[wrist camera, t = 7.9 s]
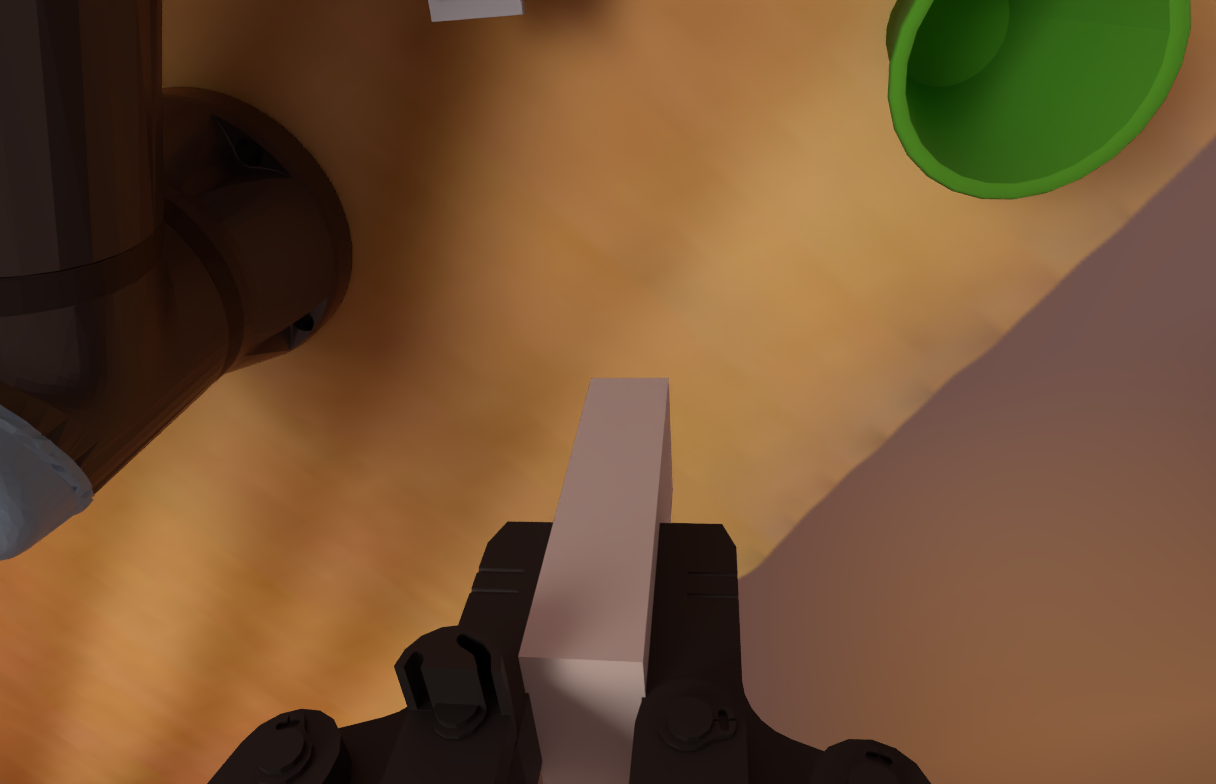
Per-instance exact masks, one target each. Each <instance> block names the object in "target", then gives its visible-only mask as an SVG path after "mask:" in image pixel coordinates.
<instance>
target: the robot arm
mask: <svg viewBox="0 0 1216 784" xmlns="http://www.w3.org/2000/svg"><path fill="white" fill-rule="evenodd" d="M351 267H352V246H351V238H350V232H349V228H348V223H347V220H346V217H345V213H344V211H343V208H342V205H341V203H340V201H339V198H338V196H337V194H336V192H335V190H334V188H333V186H332V184H331V183H330V181H329V179H328V178H327V176H326V175H325V173H324V172H323V170H322V169H321V167H320V166H319V164H318V163H317V162H316V161H315V159H314V158H313V157H312V155H311V154H310V153H309V152H308V151H307V150H306V149H305V148H304V146H303V145H302V144H301V143H300V142H299V141H298V140H297V139H296V138H295V137H293V136H292V135H291V134H290V133H289V132H288V131H287V130H286V129H284V128H283V127H282V126H281V125H279V124H278V123H277V122H275V121H274V120H273V119H271V118H270V117H268V116H267V115H265V114H264V113H262V112H260V111H259V110H257V109H255V108H253V107H252V106H250V105H248V104H246V103H244V102H241V101H239V100H237V99H235V98H232V97H229V96H227V95H224V94H220V93H217V92H213V91H209V90H204V89H198V88H188V87H172V88H163V89H162V0H0V560H6V559H10V558H13V557H15V556H17V555H19V554H21V553H23V552H24V551H26V550H28V549H29V548H31V547H32V546H33V545H34V544H36V543H37V542H38V541H40V540H41V539H43V538H44V537H45V536H47V535H48V534H49V533H51V532H52V531H53V530H55V529H56V528H57V527H59V526H60V525H61V524H63V523H64V522H65V521H67V520H68V519H69V518H71V517H72V516H73V515H76V514H78V513H80V512H82V511H84V510H85V509H86V508H87V507H88V506H89V505H90V503H91V502H92V501H93V499H92V497H93V496H94V494H95V493H96V492H98V491H99V490H100V489H101V488H102V487H103V486H104V485H105V484H106V483H107V482H108V481H109V480H110V479H111V478H113V477H114V476H115V475H116V474H117V473H118V472H119V471H120V470H121V469H122V468H123V467H124V466H125V465H127V464H128V463H129V462H130V461H131V460H132V459H133V458H134V457H135V456H136V455H137V454H138V453H139V452H141V451H142V450H143V449H144V448H145V447H146V446H147V445H148V444H149V443H150V442H151V441H152V440H153V439H154V438H156V437H157V436H158V435H159V434H160V433H161V432H162V431H163V430H164V429H165V428H166V427H167V426H168V425H170V424H171V423H172V422H173V421H174V420H175V419H176V418H177V417H178V416H179V415H180V414H181V413H182V412H184V411H185V410H186V409H187V408H188V407H189V406H190V405H191V404H192V403H193V402H194V401H195V400H196V399H197V398H199V397H200V396H201V395H202V394H203V393H204V392H205V391H206V390H207V389H208V388H209V387H210V386H211V385H212V384H213V383H214V382H215V381H217V380H218V379H219V378H220V377H221V376H222V375H223V374H226V373H229V372H232V371H235V370H238V369H241V368H244V367H247V366H250V365H253V364H256V363H259V362H262V361H265V360H268V359H271V358H275V357H278V356H280V355H283V354H285V353H287V352H289V351H292V350H293V349H295V348H297V347H298V346H300V345H301V344H303V343H304V342H306V341H307V340H308V339H310V338H311V337H312V336H313V335H314V334H315V333H316V332H317V331H318V330H319V329H320V328H321V327H322V326H323V325H324V324H325V323H326V322H327V321H328V320H329V319H330V317H331V316H332V315H333V314H334V313H335V311H336V310H337V309H338V307H339V305H340V303H341V302H342V300H343V298H344V295H345V293H346V290H347V287H348V284H349V280H350V275H351ZM672 492H673V487H672V459H671V432H670V405H669V378H591V381H590V385H589V388H588V392H587V396H586V400H585V404H584V407H583V411H582V415H581V419H580V423H579V426H578V430H577V434H576V438H575V442H574V446H573V449H572V453H571V457H570V461H569V465H568V468H567V472H566V476H565V480H564V484H563V487H562V491H561V495H560V499H559V503H558V507H557V510H556V514H555V518H554V522H553V523H552V522H507V523H506V524H505V525H504V526H503V527H502V528H501V529H500V530H499V531H498V532H497V534H496V535H495V536H494V537H493V538H492V539H491V540H490V541H489V542H488V544H487V546H486V549H485V552H484V555H483V558H482V560H481V563H480V566H479V573H477V574H476V577H475V580H474V583H473V585H472V592H471V593H470V594H469V596H468V599H467V602H466V605H465V608H464V610H463V613H462V616H461V619H460V621H459V624H458V626H449V627H442V628H439V629H437V630H434V631H432V632H430V633H427V634H425V635H423V636H421V637H420V638H419V639H417V640H416V641H415V642H414V643H412V644H411V645H410V646H409V647H407V648H406V649H405V650H404V652H403V653H402V655H401V656H400V658H399V659H398V661H397V662H396V664H395V665H394V668H395V671H396V674H397V677H398V680H399V683H400V686H401V689H402V692H403V695H404V698H405V701H406V704H407V707H406V708H405V709H403V710H401V711H399V712H397V713H394V714H391V715H388V716H385V717H382V718H378V719H374V720H370V721H366V722H362V723H358V724H354V725H350V726H346V727H342V728H338V727H337V725H336V723H335V721H334V719H332V718H331V717H329V716H328V715H326V714H325V713H323V712H321V711H318V710H308V709H299V710H295V711H291V712H286V713H282V714H279V715H278V716H276V717H274V718H272V719H270V720H269V721H267V722H265V723H263V724H261V725H260V726H259V727H257V728H256V729H255V730H254V731H253V732H252V733H251V734H250V735H249V736H248V737H247V738H246V739H245V740H244V741H242V743H241V744H240V745H239V746H238V747H237V749H236V750H235V751H234V752H233V753H232V755H231V756H230V757H229V758H228V759H227V761H226V762H225V763H224V764H223V765H222V767H221V768H220V769H219V770H218V771H217V773H216V774H215V775H214V776H213V777H212V779H211V780H210V781H209V782H208V783H207V784H538V780H539V776H540V771H541V772H542V777H543V782H544V784H931V783H930V782H929V780H928V779H927V778H926V776H925V775H924V774H923V772H922V771H921V769H920V768H919V767H918V766H917V764H916V763H915V762H913V761H912V760H911V759H909V758H908V757H906V756H905V755H904V754H902V753H901V752H900V751H898V750H897V749H896V748H893V747H890V746H888V745H885V744H882V743H879V742H876V741H874V740H859V739H848V740H845V741H843V742H840V743H837V744H835V745H832V746H830V747H828V748H827V749H826V750H825V751H822V750H819V749H816V748H814V747H811V746H808V745H806V744H803V743H800V742H797V741H795V740H792V739H790V738H788V737H786V736H784V735H782V734H780V733H778V732H776V731H774V730H773V729H772V728H771V727H769V726H768V725H767V724H766V723H764V722H763V721H762V720H761V719H760V718H759V717H758V715H757V714H756V713H755V712H754V711H753V710H752V708H751V706H750V704H749V702H748V700H747V698H746V696H745V694H744V688H743V683H742V670H741V646H740V623H739V601H738V579H737V554H736V546H735V544H734V543H733V541H732V540H731V538H730V536H729V535H728V533H727V531H726V530H725V528H724V527H723V525H722V524H692V523H670V522H671V507H672Z"/></svg>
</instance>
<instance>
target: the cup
mask: <svg viewBox="0 0 1216 784" xmlns="http://www.w3.org/2000/svg"><path fill="white" fill-rule="evenodd" d="M1190 29H1191V17H1190V0H897V2H896V4H895V6H894V8H893V9H892V11H891V14H890V18H889V22H888V25H887V33H886V46H887V52H888V57H889V61H890V64H889V83H888V101H889V106H890V112H891V117H892V122H893V127H894V130H895V132H896V134H897V136H898V138H899V140H900V142H901V144H902V146H903V148H904V150H905V152H906V154H907V155H908V157H909V158H910V159H911V160H912V161H913V162H914V163H915V164H916V165H917V166H918V167H919V168H920V169H921V170H922V171H923V172H924V174H925V175H926V176H927V177H929V178H931V179H933V180H934V181H936V182H938V183H939V184H941V185H943V186H945V187H946V188H948V189H950V190H951V191H954V192H958V193H962V194H965V195H969V196H973V197H977V198H980V199H1018V198H1023V197H1028V196H1033V195H1038V194H1043V193H1047V192H1050V191H1052V190H1054V189H1057V188H1059V187H1062V186H1064V185H1067V184H1069V183H1071V182H1074V181H1076V180H1079V179H1081V178H1083V177H1084V176H1086V175H1087V174H1089V173H1091V172H1092V171H1094V170H1095V169H1097V168H1098V167H1100V166H1101V165H1103V164H1104V163H1106V162H1108V161H1109V160H1111V159H1112V158H1114V157H1115V156H1116V155H1117V154H1118V153H1119V152H1120V151H1121V150H1122V149H1123V148H1124V147H1125V146H1126V145H1127V144H1129V143H1130V142H1131V141H1132V140H1133V139H1134V138H1135V137H1136V136H1137V135H1138V134H1139V133H1140V132H1141V131H1142V130H1143V129H1144V127H1145V126H1146V125H1147V123H1148V122H1149V121H1150V119H1151V118H1152V117H1153V115H1154V114H1155V113H1156V111H1157V110H1158V109H1159V107H1160V106H1161V105H1162V103H1163V102H1164V101H1165V99H1166V97H1167V95H1168V93H1169V90H1170V88H1171V86H1172V84H1173V82H1174V80H1175V78H1176V76H1177V74H1178V72H1179V70H1180V68H1181V66H1182V62H1183V58H1184V54H1185V49H1186V45H1187V41H1188V37H1189V33H1190Z"/></svg>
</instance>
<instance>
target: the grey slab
mask: <svg viewBox="0 0 1216 784" xmlns="http://www.w3.org/2000/svg"><path fill="white" fill-rule="evenodd" d="M428 3H429V9H430V14H431V20H432V22H438V21H450V20H462V19H474V18H486V17H499V16H511V15H523V14H524V13H525V5H524V0H428Z"/></svg>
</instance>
